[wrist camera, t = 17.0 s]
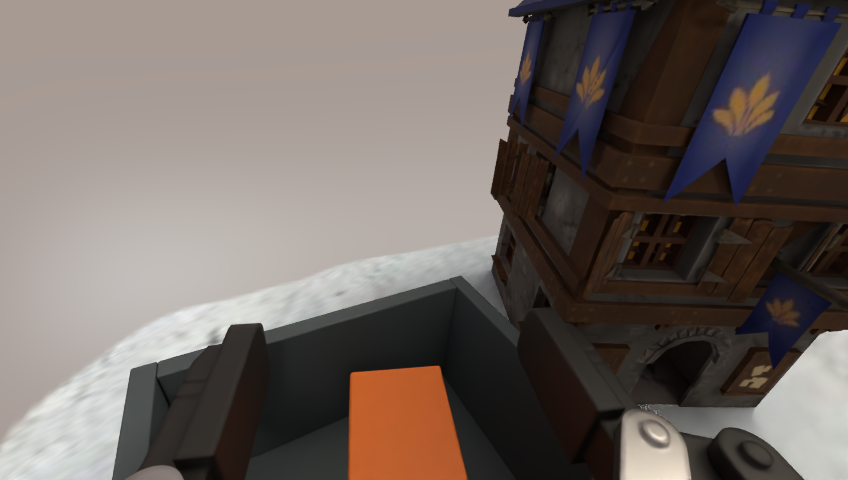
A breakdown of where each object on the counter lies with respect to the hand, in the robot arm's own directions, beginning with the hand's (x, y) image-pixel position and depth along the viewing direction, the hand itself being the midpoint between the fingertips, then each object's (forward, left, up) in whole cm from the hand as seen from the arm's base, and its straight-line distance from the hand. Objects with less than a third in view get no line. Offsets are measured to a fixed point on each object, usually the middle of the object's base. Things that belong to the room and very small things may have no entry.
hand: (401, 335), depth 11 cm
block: (+1, +2, -10) cm, 10 cm away
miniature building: (-19, -3, -11) cm, 22 cm away
